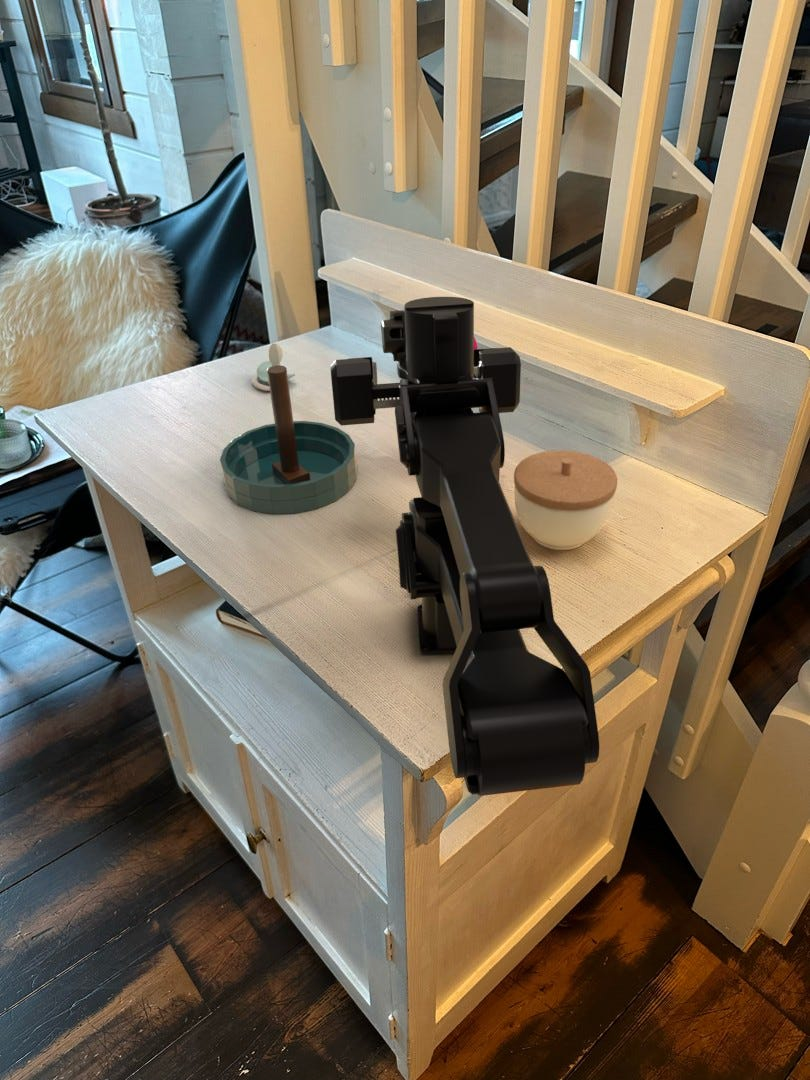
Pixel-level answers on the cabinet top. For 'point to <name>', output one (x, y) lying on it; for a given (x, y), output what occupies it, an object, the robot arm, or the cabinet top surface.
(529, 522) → the trinket box
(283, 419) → the brown wooden post
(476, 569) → the robot arm
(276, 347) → the pacifier
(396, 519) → the cabinet top surface
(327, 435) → the bowl
